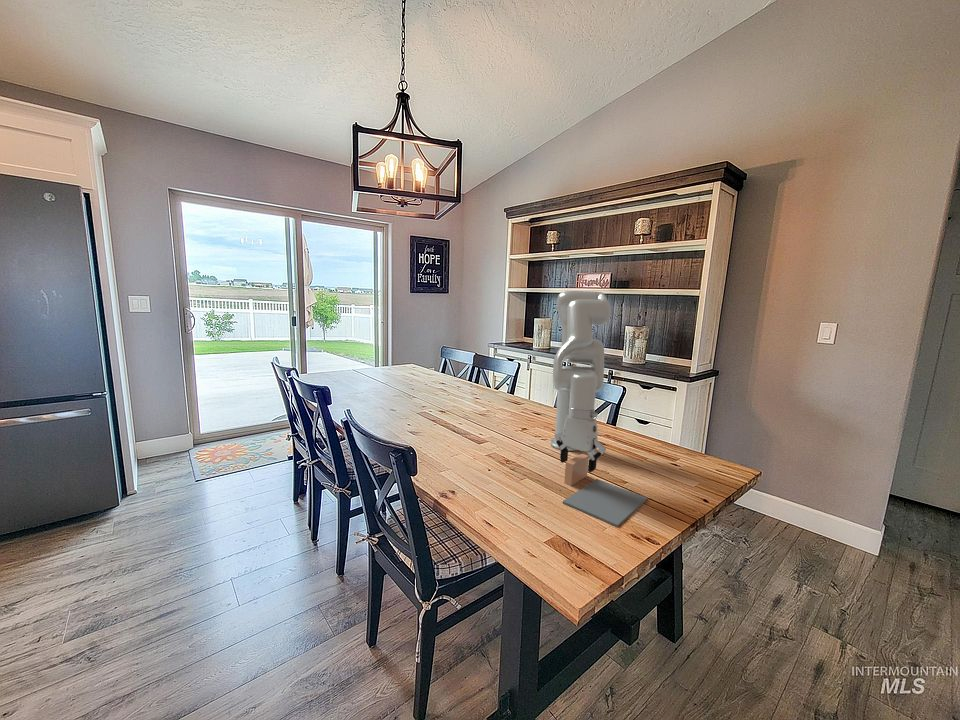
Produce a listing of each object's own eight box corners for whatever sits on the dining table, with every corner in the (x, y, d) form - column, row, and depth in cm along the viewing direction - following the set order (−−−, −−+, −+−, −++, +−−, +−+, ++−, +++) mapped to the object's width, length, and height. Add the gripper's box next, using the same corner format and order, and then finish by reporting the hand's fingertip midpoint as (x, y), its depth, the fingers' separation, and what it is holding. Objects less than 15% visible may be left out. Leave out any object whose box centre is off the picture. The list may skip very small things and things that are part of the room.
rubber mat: (596, 480, 124) (596, 478, 124) (647, 499, 113) (647, 497, 113) (562, 503, 110) (562, 501, 110) (617, 527, 99) (617, 524, 99)
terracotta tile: (580, 473, 129) (582, 453, 128) (587, 476, 127) (588, 455, 126) (564, 483, 122) (565, 462, 121) (571, 486, 120) (572, 464, 119)
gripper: (613, 417, 118) (608, 471, 120) (563, 406, 130) (560, 455, 132) (601, 421, 112) (597, 478, 115) (550, 409, 124) (547, 461, 126)
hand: (577, 466), depth 123 cm, fingers open, 9 cm apart
